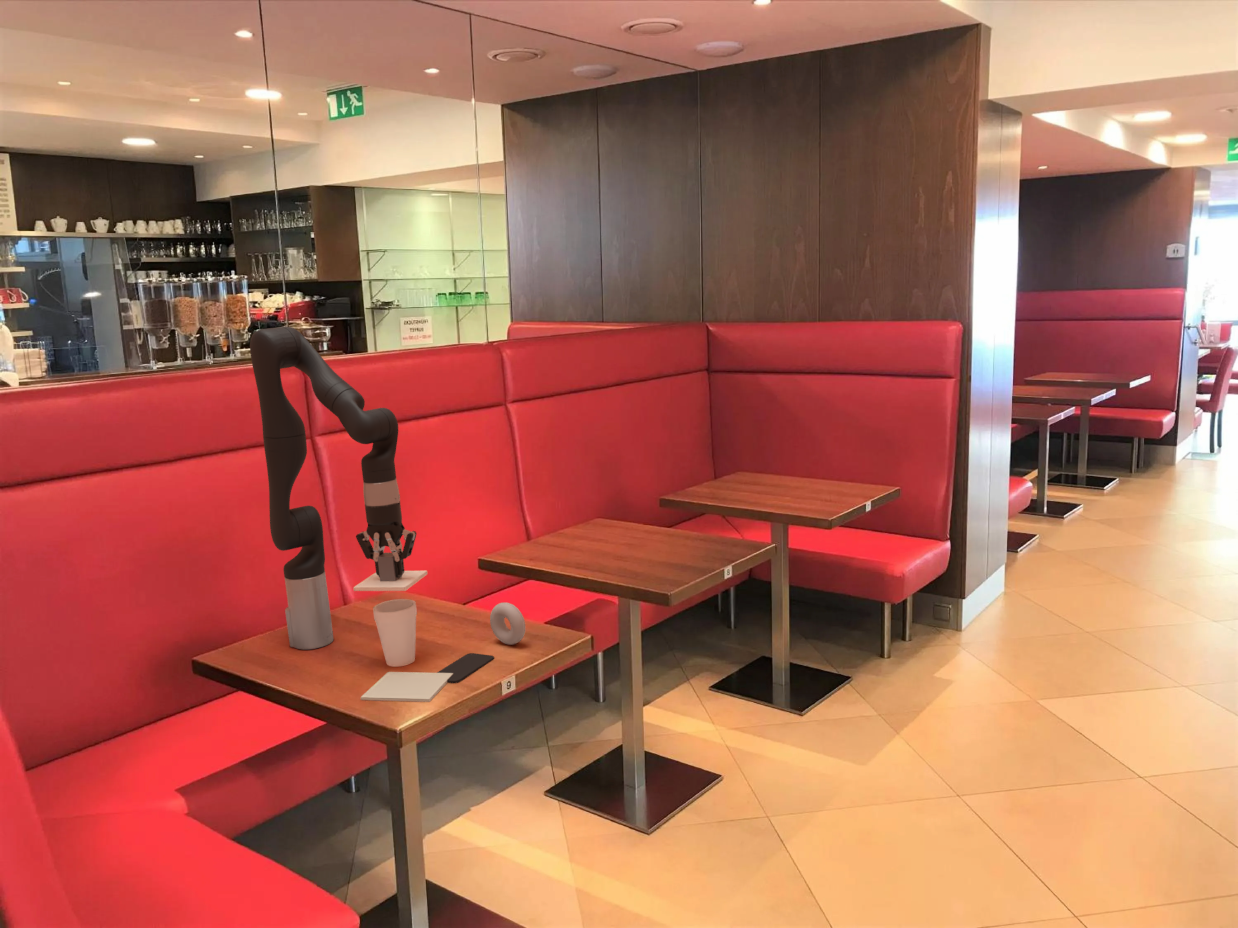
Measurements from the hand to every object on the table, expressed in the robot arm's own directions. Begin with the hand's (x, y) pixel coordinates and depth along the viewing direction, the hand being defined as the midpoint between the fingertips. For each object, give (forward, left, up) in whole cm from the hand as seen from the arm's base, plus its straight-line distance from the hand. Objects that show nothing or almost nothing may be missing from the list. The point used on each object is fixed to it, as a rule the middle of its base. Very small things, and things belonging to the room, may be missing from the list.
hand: (390, 576), depth 214 cm
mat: (+8, -14, -20) cm, 26 cm away
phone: (+16, -3, -20) cm, 26 cm away
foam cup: (0, 0, -20) cm, 20 cm away
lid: (0, 0, -1) cm, 1 cm away
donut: (+22, +11, -20) cm, 32 cm away
